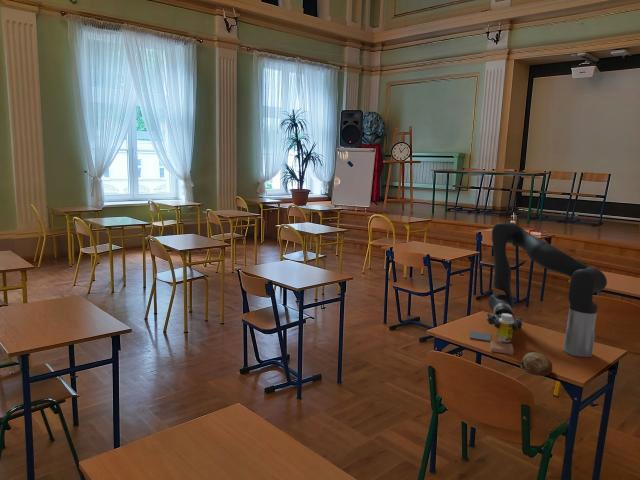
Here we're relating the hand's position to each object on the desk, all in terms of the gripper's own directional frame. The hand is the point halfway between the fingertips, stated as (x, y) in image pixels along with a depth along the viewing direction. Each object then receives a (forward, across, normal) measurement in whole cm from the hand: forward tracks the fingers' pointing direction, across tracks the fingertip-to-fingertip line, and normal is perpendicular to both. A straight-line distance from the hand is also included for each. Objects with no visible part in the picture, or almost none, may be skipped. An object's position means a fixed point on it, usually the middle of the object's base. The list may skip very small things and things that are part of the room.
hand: (506, 327), depth 185 cm
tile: (-2, -1, +8) cm, 8 cm away
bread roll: (+16, +10, +9) cm, 21 cm away
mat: (-9, -8, +9) cm, 15 cm away
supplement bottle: (-3, 0, +6) cm, 7 cm away
